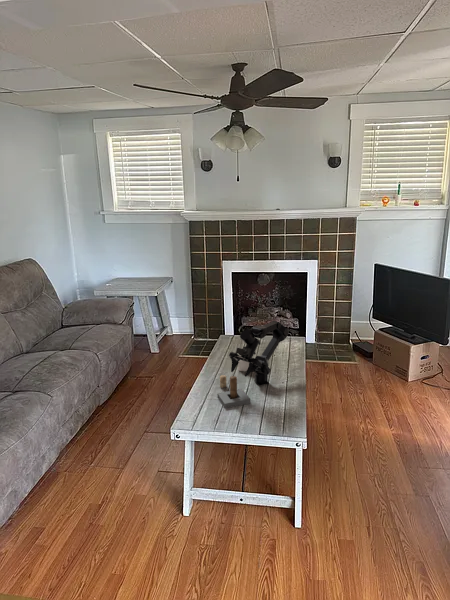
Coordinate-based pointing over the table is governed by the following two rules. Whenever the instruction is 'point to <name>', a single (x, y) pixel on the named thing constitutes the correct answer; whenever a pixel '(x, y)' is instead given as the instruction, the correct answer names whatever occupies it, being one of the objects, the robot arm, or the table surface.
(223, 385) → the short beech pin
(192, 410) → the table surface
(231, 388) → the walnut pin
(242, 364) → the medicine bottle
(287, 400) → the table surface
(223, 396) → the slate hole plate
